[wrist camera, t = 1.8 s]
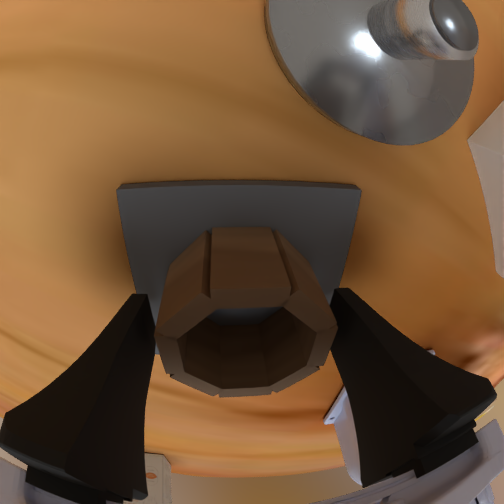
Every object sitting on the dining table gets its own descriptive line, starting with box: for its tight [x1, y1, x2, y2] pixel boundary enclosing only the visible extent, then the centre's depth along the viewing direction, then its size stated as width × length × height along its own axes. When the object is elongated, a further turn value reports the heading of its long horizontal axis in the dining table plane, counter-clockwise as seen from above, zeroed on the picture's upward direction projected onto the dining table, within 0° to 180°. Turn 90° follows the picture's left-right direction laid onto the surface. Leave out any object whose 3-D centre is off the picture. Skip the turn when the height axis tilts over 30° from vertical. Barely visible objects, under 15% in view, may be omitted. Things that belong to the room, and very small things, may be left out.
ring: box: [154, 227, 338, 397], centre depth 10 cm, size 6×6×4 cm
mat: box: [116, 180, 362, 354], centre depth 12 cm, size 9×9×1 cm
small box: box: [123, 453, 172, 504], centre depth 21 cm, size 8×6×13 cm
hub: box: [264, 0, 479, 145], centre depth 5 cm, size 9×9×4 cm
